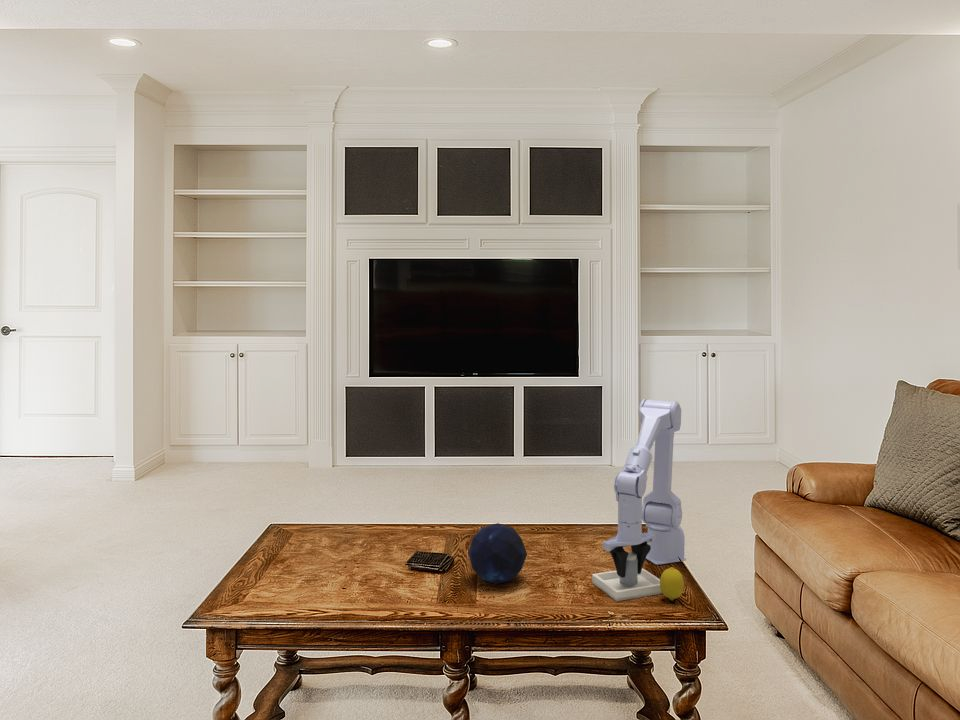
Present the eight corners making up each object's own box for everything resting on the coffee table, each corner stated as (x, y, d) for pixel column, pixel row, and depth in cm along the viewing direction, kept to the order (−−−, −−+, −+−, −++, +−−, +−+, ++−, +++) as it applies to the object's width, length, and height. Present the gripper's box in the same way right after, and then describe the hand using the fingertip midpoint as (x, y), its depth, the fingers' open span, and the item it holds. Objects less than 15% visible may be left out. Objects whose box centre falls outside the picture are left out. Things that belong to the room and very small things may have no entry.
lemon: (679, 606, 172) (680, 573, 171) (656, 601, 175) (656, 568, 174) (686, 598, 177) (687, 565, 176) (663, 593, 180) (664, 561, 179)
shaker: (630, 577, 186) (630, 550, 186) (641, 583, 182) (641, 555, 182) (615, 580, 184) (615, 553, 184) (626, 586, 180) (626, 558, 180)
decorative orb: (473, 576, 177) (507, 522, 180) (448, 556, 190) (480, 506, 193) (515, 603, 183) (547, 550, 185) (488, 581, 196) (519, 532, 199)
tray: (640, 575, 191) (640, 566, 191) (667, 592, 180) (667, 583, 180) (591, 582, 187) (591, 574, 186) (616, 601, 175) (616, 592, 175)
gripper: (642, 511, 189) (641, 563, 190) (595, 520, 182) (595, 574, 183) (661, 519, 182) (660, 573, 184) (613, 528, 176) (612, 584, 177)
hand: (629, 574), depth 183 cm, fingers closed on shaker, 4 cm apart
